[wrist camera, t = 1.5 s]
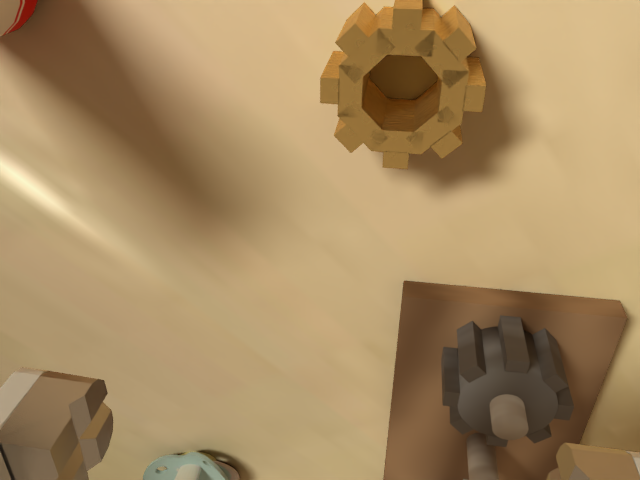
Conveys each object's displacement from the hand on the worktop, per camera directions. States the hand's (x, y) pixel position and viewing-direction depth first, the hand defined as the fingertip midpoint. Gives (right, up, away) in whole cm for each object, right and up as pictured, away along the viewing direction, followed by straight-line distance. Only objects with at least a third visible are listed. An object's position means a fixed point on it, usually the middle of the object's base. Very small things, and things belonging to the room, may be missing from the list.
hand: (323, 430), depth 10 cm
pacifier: (-10, -15, +37) cm, 41 cm away
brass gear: (+4, +12, +17) cm, 21 cm away
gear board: (+11, -9, +29) cm, 32 cm away
